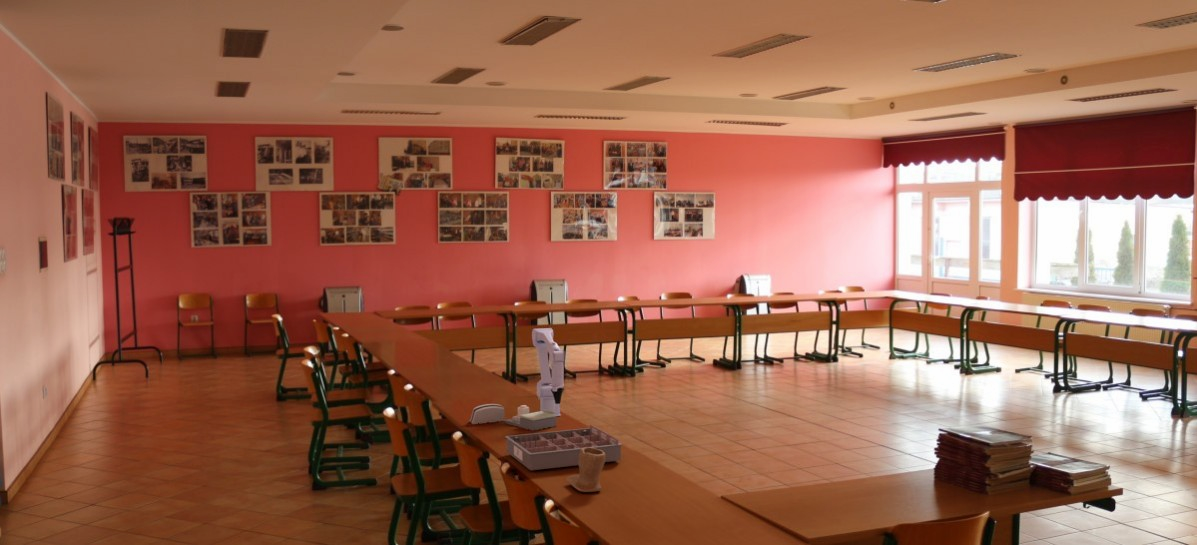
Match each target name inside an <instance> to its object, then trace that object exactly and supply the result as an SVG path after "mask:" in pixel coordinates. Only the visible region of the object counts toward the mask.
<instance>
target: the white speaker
mask: <svg viewBox="0 0 1197 545" xmlns="http://www.w3.org/2000/svg"><path fill="white" fill-rule="evenodd" d="M505 414H506V413H505V408H504V406H502V405H501V404H499V403H498V404H497V403H488V404H482V405H478V406H476V407H474V408H473V409H472V412H471V415H470V416H471V418H470V419H469V423H471V424H472V425H475V424H476V425H478V423H479V424H486V423H487V422H489V423H497V421H498V422H505V420H506V419H505Z"/></svg>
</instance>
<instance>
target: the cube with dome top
mask: <svg viewBox="0 0 1197 545" xmlns="http://www.w3.org/2000/svg"><path fill="white" fill-rule="evenodd" d="M529 413H530V406H527V405H526V404H523V405H522V404H521V405H520V406H518V407H517V416H518V418H521V417H520V415H523V414H529Z"/></svg>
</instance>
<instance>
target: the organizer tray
mask: <svg viewBox="0 0 1197 545" xmlns="http://www.w3.org/2000/svg"><path fill="white" fill-rule="evenodd" d="M504 438H505V439H506V453H508V454H509V455H510V456H512V457H513V458H514V459H515V460H516V461H517V462H519V463H520V464H522V465H523V466H524V467H525V468H527V469H528V470H530V471H536V470H537V471H538V470H545V469H546V470H547V469H555V468H563V467H572V466H579V453H580V450H581V449H582V448H584V447H591V448H596V449H599V450H602V451H603V452H604V453H605V463H606V462H607V463H609V462H615V461H616V462H617V461H618V462H619V461H621V457H622V456H621V455H622V454H621V453H622V452H621V451H622V446H623V443H622V442H620V441H619V439H618V438H617V437H615V436H613V435H612V434H610V433H607V432H606V431H604V430H603V429H600V428H598V427H597V426H594V425H593V424H591V423H589V427H587V428H577V429H566V430H565V429H564V430H556V431H545V432H535V433H525V434H515V435H506V436H504Z"/></svg>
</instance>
